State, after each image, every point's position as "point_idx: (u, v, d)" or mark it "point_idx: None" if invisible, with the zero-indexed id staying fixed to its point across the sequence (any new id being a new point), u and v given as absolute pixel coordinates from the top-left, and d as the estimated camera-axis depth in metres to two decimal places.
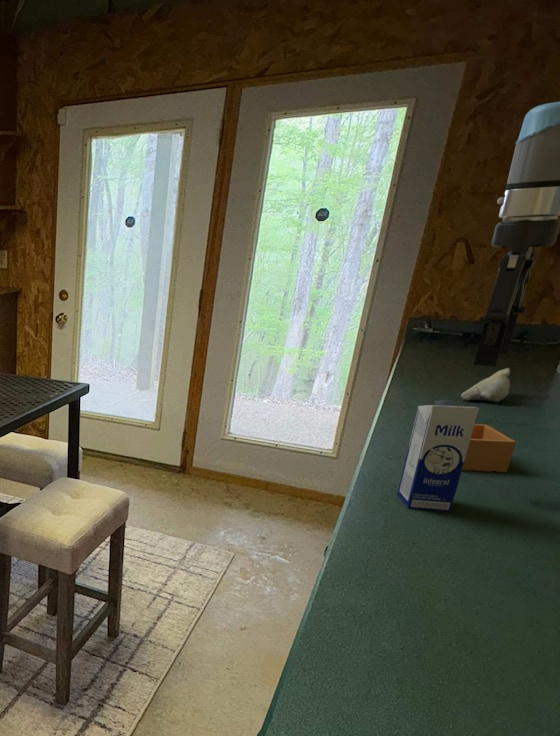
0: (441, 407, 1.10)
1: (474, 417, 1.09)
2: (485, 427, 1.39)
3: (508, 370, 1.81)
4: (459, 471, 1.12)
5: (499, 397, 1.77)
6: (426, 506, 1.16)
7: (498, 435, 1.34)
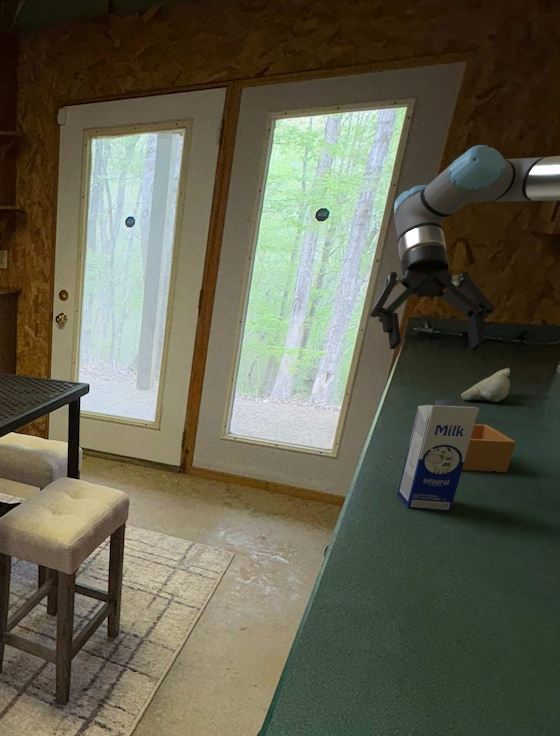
0: (441, 407, 1.10)
1: (474, 417, 1.09)
2: (485, 427, 1.39)
3: (508, 370, 1.81)
4: (459, 471, 1.12)
5: (499, 397, 1.77)
6: (426, 506, 1.16)
7: (498, 435, 1.34)
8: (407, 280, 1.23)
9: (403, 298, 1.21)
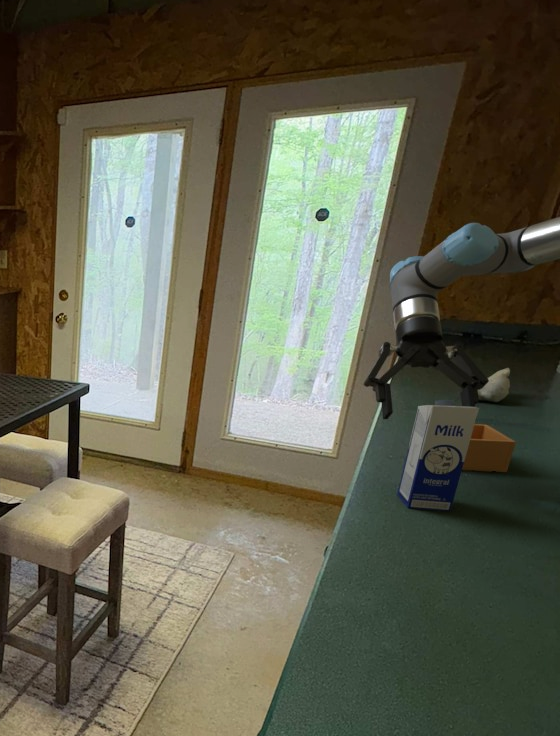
0: (441, 407, 1.10)
1: (474, 417, 1.09)
2: (485, 427, 1.39)
3: (508, 370, 1.81)
4: (459, 471, 1.12)
5: (499, 397, 1.77)
6: (426, 506, 1.16)
7: (498, 435, 1.34)
8: (400, 350, 1.25)
9: (396, 369, 1.23)
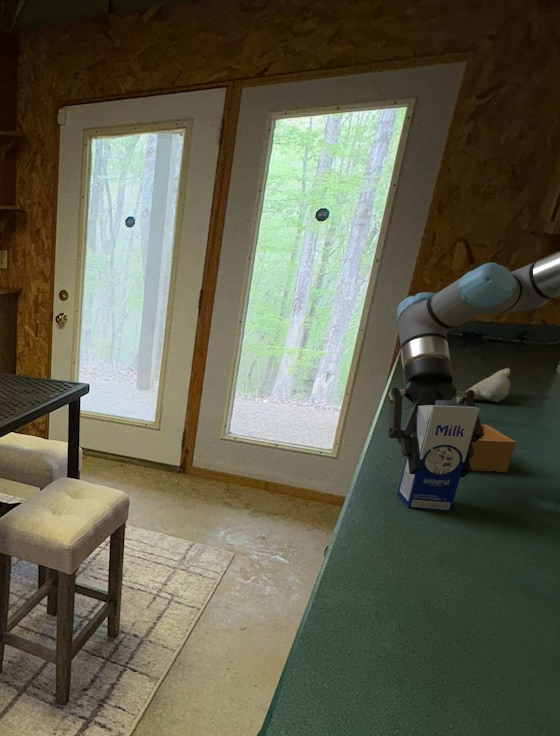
0: (442, 407, 1.09)
1: (475, 417, 1.08)
2: (485, 427, 1.39)
3: (508, 370, 1.81)
4: (459, 471, 1.12)
5: (499, 397, 1.77)
6: (426, 506, 1.16)
7: (498, 435, 1.34)
8: (411, 393, 1.19)
9: (416, 417, 1.17)
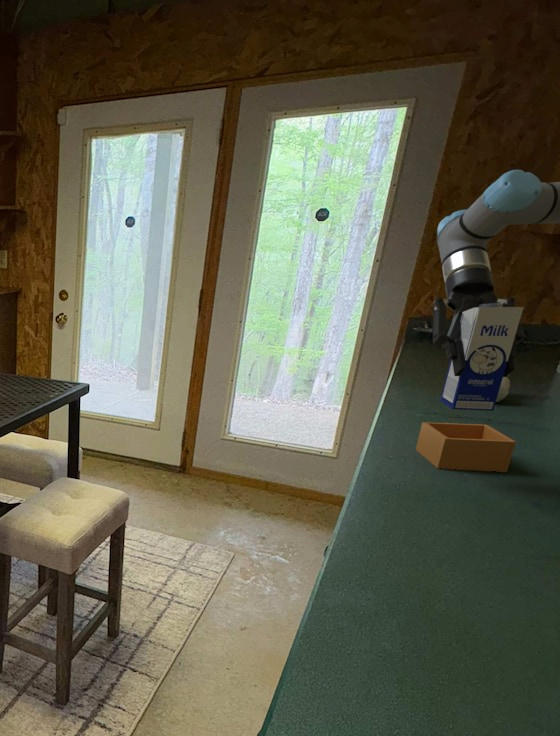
0: (487, 308, 1.16)
1: (518, 316, 1.15)
2: (485, 427, 1.39)
3: None
4: (503, 370, 1.19)
5: (499, 397, 1.77)
6: (470, 406, 1.23)
7: (498, 435, 1.34)
8: (454, 302, 1.26)
9: (460, 323, 1.24)
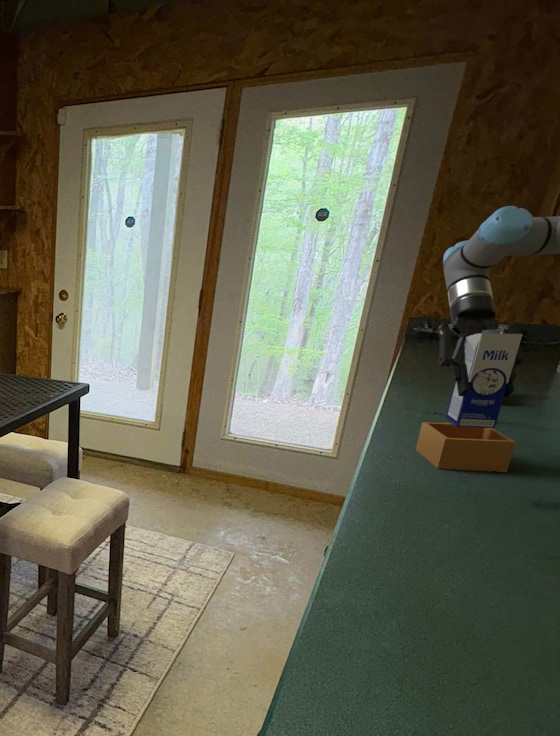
0: (489, 334, 1.26)
1: (518, 342, 1.25)
2: None
3: None
4: (503, 391, 1.29)
5: None
6: (473, 424, 1.33)
7: (498, 435, 1.34)
8: (459, 327, 1.36)
9: None
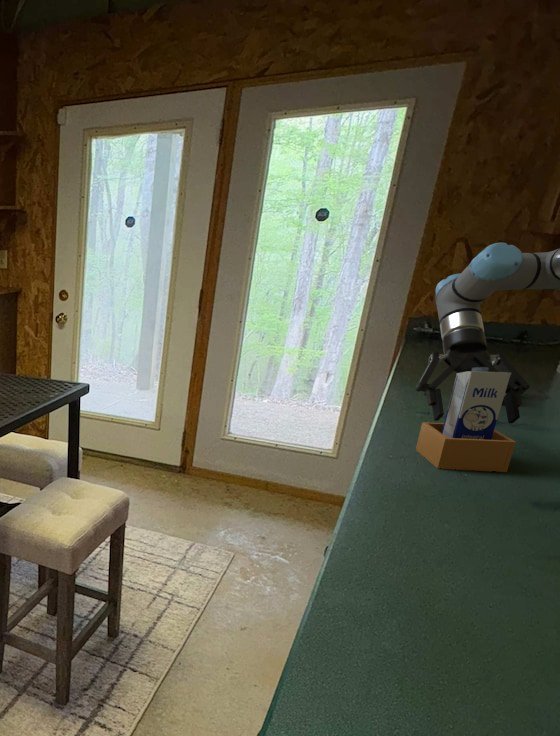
0: (478, 372, 1.29)
1: (506, 381, 1.28)
2: None
3: None
4: (493, 428, 1.32)
5: None
6: None
7: (498, 435, 1.34)
8: (449, 359, 1.39)
9: (445, 375, 1.37)
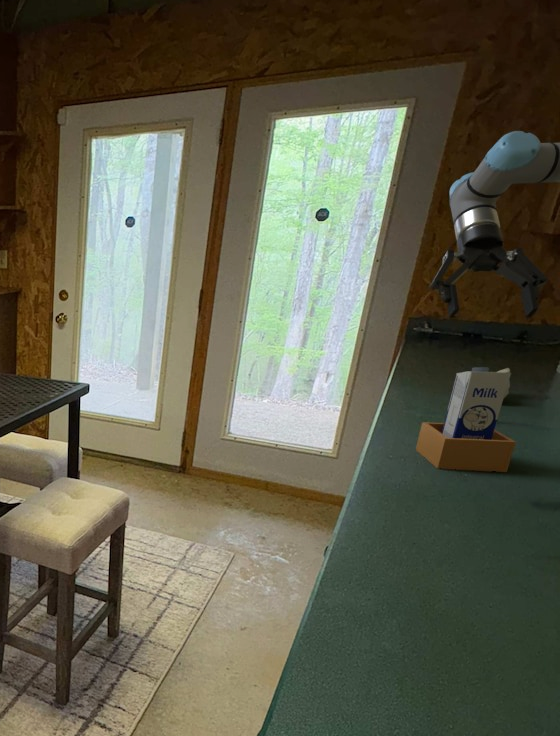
0: (478, 372, 1.29)
1: (506, 381, 1.28)
2: None
3: (508, 370, 1.81)
4: (493, 428, 1.32)
5: None
6: None
7: (498, 435, 1.34)
8: (464, 256, 1.35)
9: (460, 272, 1.33)
